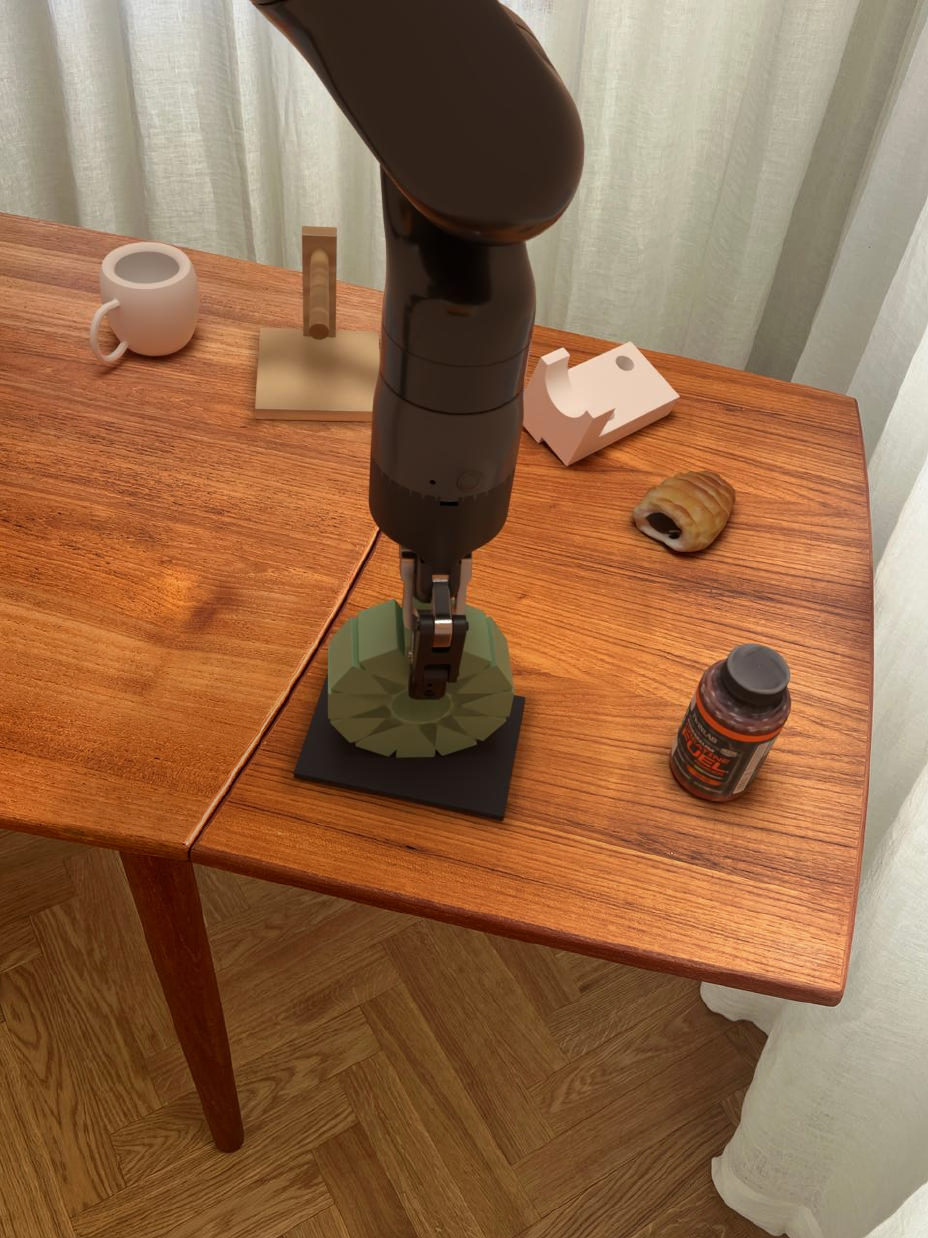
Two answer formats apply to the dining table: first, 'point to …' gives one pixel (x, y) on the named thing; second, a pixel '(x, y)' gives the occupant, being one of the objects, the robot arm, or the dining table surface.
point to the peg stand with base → (317, 350)
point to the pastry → (686, 510)
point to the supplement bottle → (732, 723)
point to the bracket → (593, 400)
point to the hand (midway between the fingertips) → (422, 652)
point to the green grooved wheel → (378, 686)
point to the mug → (146, 300)
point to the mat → (416, 767)
